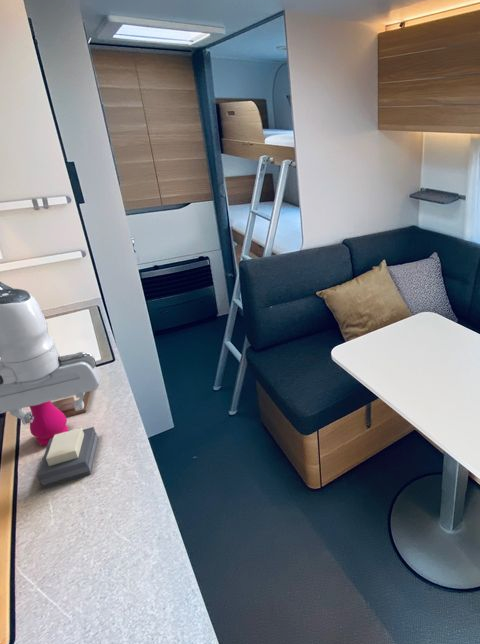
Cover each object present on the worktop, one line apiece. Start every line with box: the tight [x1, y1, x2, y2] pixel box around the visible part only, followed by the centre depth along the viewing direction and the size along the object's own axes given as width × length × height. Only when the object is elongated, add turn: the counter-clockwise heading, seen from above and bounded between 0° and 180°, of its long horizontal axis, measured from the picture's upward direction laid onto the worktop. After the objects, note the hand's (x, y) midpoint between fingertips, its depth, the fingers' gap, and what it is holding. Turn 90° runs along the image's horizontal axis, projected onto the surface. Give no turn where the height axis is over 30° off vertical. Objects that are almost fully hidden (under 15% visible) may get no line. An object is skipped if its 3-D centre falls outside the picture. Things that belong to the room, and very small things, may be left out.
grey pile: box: [36, 426, 99, 490], centre depth 96 cm, size 9×12×4 cm
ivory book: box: [46, 427, 84, 466], centre depth 94 cm, size 6×8×2 cm
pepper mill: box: [29, 401, 69, 446], centre depth 100 cm, size 7×7×20 cm
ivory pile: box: [51, 390, 93, 418], centre depth 114 cm, size 10×12×5 cm
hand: (55, 414), depth 91 cm, fingers open, 8 cm apart
